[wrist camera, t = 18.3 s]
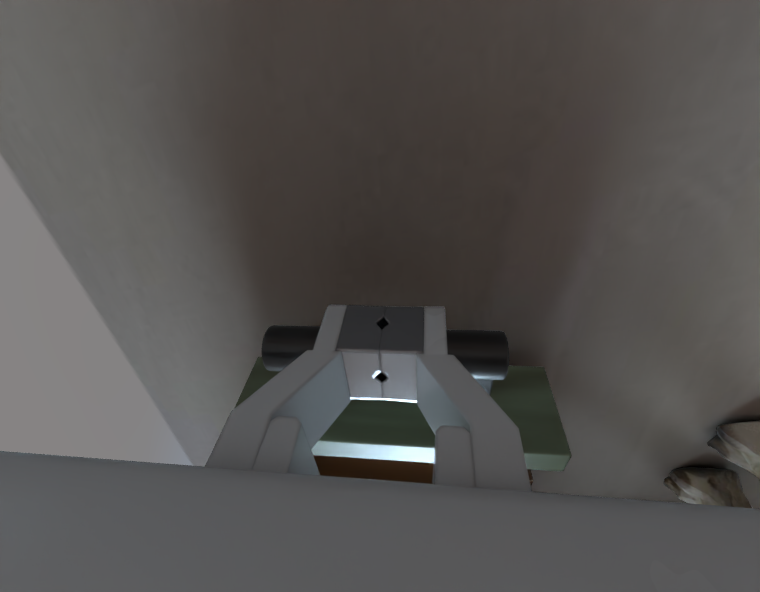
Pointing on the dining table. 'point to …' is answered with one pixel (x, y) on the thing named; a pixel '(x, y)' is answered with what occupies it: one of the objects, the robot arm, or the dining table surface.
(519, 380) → the drawer
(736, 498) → the figurine
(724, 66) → the dining table surface
